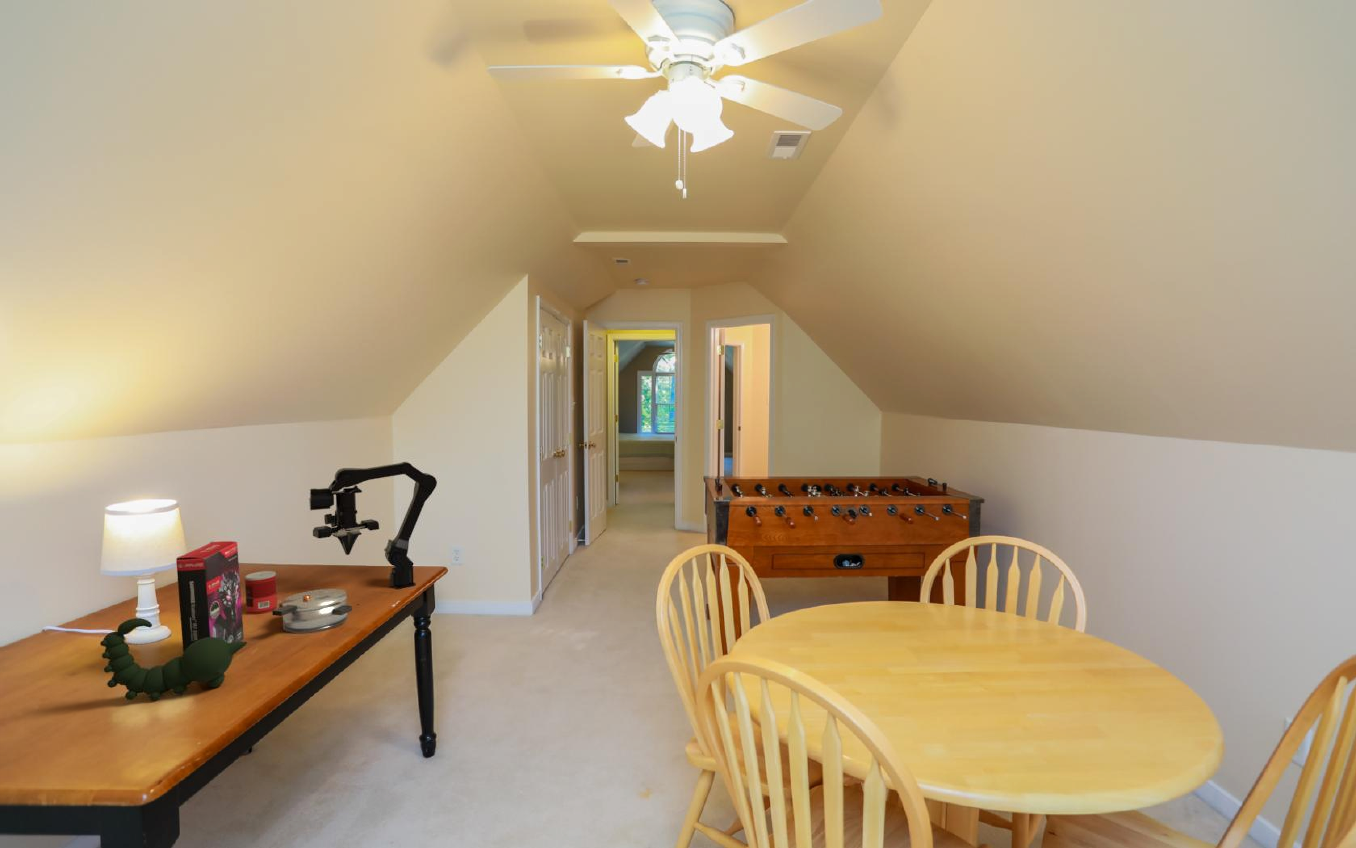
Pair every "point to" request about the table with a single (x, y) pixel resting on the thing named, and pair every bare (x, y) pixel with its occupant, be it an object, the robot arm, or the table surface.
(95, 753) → the table surface
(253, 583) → the canned food
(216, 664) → the toy figurine
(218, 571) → the graphics card box
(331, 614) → the cooker pot
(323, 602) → the cooker lid
